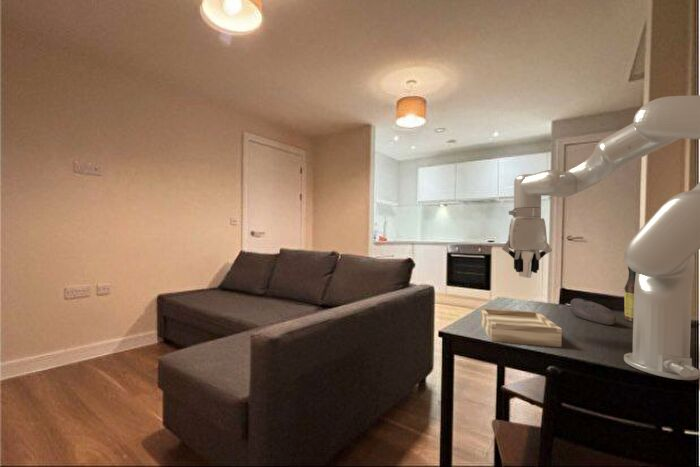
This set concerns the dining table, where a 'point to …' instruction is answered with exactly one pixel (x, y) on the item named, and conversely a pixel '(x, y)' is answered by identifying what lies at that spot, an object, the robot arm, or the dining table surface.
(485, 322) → the wooden tray
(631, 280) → the sauce bottle
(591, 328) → the dining table surface
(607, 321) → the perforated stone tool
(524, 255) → the milkshake
